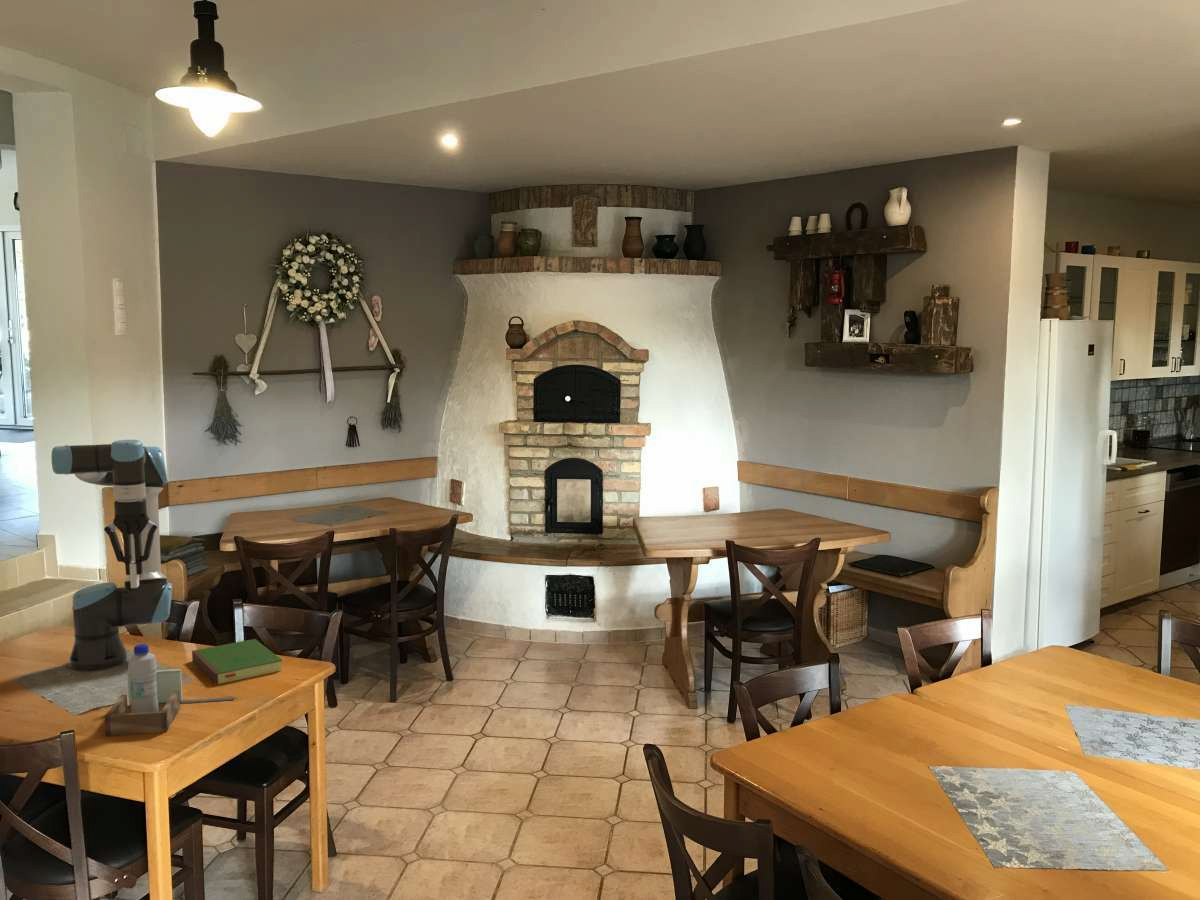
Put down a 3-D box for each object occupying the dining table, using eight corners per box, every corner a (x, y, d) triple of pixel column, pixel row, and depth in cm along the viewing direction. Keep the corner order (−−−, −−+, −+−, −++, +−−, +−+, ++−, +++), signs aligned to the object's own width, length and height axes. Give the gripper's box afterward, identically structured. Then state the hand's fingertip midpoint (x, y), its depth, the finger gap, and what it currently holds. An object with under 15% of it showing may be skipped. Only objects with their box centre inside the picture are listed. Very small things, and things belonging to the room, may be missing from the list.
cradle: (129, 704, 250) (127, 686, 249) (235, 697, 255) (234, 679, 254) (105, 736, 230) (104, 716, 229) (221, 727, 235) (220, 708, 235)
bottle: (148, 726, 236) (143, 649, 233) (124, 724, 237) (120, 647, 235) (165, 716, 242) (161, 641, 240) (142, 713, 244) (138, 639, 241)
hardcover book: (192, 662, 283) (191, 650, 282) (255, 650, 294) (254, 638, 294) (217, 687, 263) (216, 674, 263) (283, 673, 275) (283, 660, 274)
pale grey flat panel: (130, 703, 249) (128, 672, 248) (182, 699, 252) (181, 668, 251) (129, 704, 248) (127, 673, 247) (181, 701, 251) (180, 670, 250)
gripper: (98, 502, 241) (104, 592, 244) (154, 501, 244) (158, 589, 247) (106, 497, 248) (111, 584, 251) (159, 495, 251) (164, 581, 254)
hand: (135, 586), depth 249 cm, fingers closed
